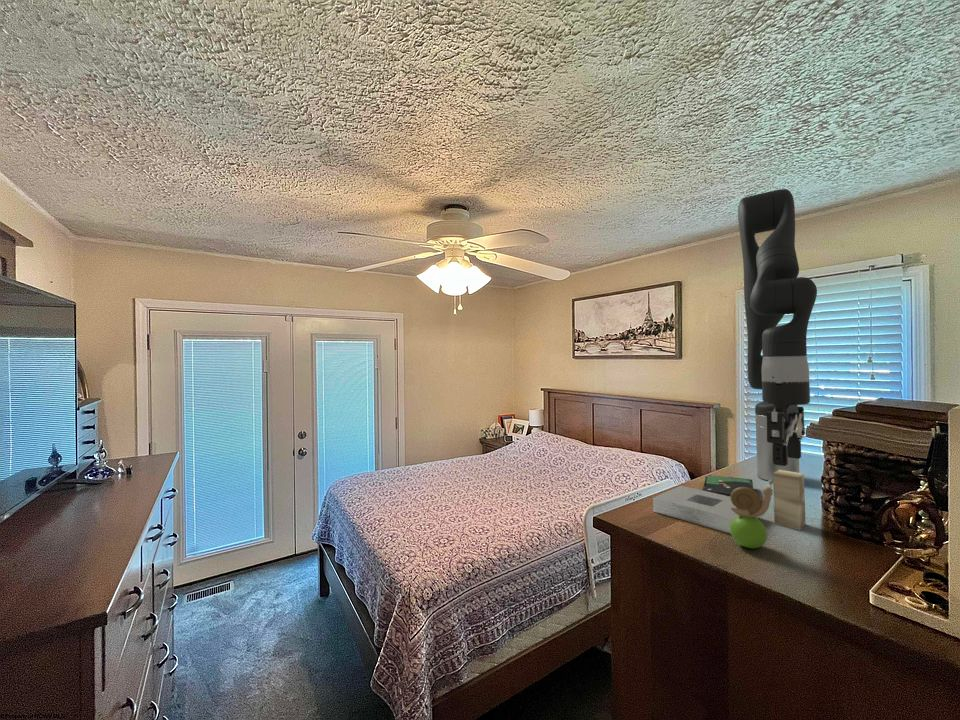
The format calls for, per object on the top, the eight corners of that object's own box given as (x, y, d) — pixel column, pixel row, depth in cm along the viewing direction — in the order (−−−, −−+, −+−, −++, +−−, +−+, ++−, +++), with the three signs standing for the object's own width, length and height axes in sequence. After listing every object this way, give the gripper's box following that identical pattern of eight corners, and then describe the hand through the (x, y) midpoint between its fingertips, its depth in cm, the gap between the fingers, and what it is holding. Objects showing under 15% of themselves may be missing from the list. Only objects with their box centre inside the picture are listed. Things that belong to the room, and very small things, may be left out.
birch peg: (781, 518, 82) (779, 469, 82) (805, 524, 79) (803, 473, 79) (774, 523, 80) (772, 473, 80) (799, 530, 76) (797, 477, 76)
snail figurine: (776, 558, 66) (774, 485, 66) (730, 549, 69) (728, 480, 69) (773, 545, 71) (771, 477, 71) (730, 537, 74) (728, 472, 74)
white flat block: (681, 498, 95) (680, 485, 95) (759, 517, 83) (758, 502, 83) (653, 511, 88) (653, 497, 88) (735, 535, 75) (734, 519, 75)
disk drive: (755, 509, 89) (752, 489, 101) (755, 497, 89) (752, 478, 101) (702, 501, 94) (705, 483, 107) (702, 490, 94) (705, 473, 107)
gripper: (774, 378, 87) (776, 453, 86) (749, 380, 78) (752, 464, 78) (818, 378, 81) (821, 459, 81) (797, 381, 72) (800, 471, 72)
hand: (787, 461), depth 79 cm, fingers open, 8 cm apart
